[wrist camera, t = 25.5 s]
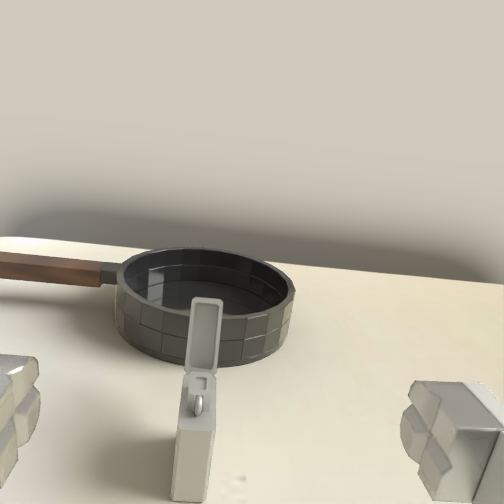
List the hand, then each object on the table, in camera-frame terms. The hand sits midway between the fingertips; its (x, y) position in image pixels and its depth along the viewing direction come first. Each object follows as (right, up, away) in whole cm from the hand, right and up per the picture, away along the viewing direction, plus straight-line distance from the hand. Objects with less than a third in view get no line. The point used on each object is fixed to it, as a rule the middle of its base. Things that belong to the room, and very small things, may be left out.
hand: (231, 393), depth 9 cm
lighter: (-3, -8, +14) cm, 17 cm away
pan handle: (-16, +1, +26) cm, 31 cm away
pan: (-4, -3, +28) cm, 29 cm away
